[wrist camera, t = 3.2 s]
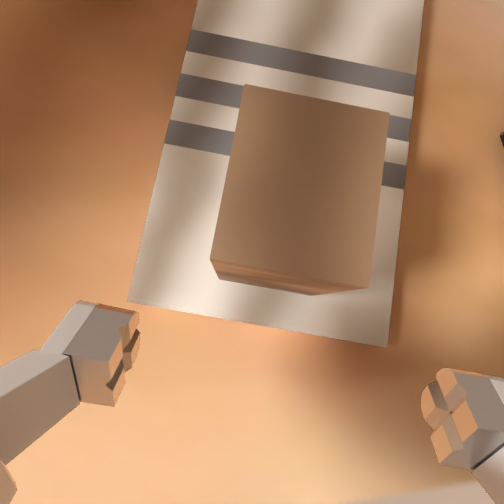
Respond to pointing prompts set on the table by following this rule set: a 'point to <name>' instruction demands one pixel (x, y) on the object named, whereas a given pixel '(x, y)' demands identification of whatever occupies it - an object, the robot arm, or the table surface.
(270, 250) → the block
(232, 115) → the board
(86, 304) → the robot arm
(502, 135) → the disk drive
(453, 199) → the table surface
